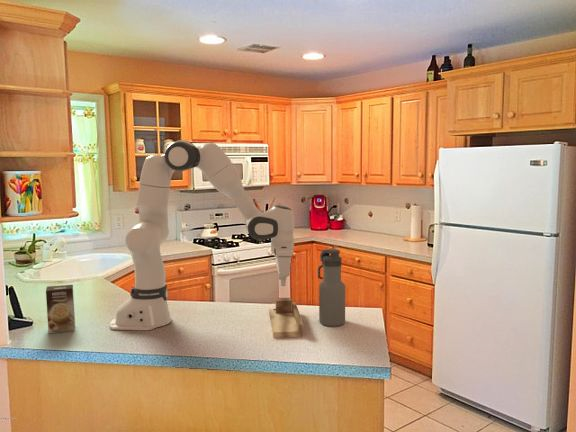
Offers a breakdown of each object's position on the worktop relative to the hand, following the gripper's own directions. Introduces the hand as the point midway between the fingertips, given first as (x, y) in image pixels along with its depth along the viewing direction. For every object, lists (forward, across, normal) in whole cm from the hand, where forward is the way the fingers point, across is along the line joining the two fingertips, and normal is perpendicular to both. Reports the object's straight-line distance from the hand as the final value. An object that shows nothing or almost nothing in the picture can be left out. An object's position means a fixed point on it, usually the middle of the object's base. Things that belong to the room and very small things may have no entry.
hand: (282, 282), depth 193 cm
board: (+14, +9, 0) cm, 16 cm away
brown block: (+12, 0, +1) cm, 12 cm away
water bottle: (+14, +9, +18) cm, 24 cm away
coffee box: (+16, +4, -82) cm, 83 cm away
